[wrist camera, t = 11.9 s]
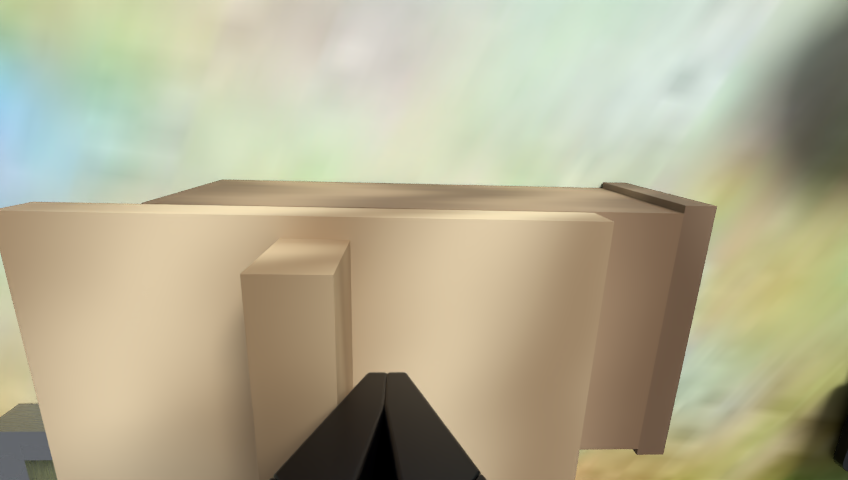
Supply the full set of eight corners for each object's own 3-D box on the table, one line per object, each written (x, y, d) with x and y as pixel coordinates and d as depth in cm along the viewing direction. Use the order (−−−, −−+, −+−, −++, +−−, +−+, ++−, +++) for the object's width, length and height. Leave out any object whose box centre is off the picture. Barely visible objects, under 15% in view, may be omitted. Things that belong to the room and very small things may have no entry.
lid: (594, 212, 10) (678, 250, 7) (561, 452, 12) (615, 566, 9) (32, 201, 9) (-150, 238, 6) (89, 457, 11) (-31, 583, 8)
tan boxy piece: (625, 183, 14) (717, 206, 10) (596, 369, 16) (663, 454, 12) (221, 173, 14) (140, 194, 10) (241, 369, 16) (180, 459, 11)
